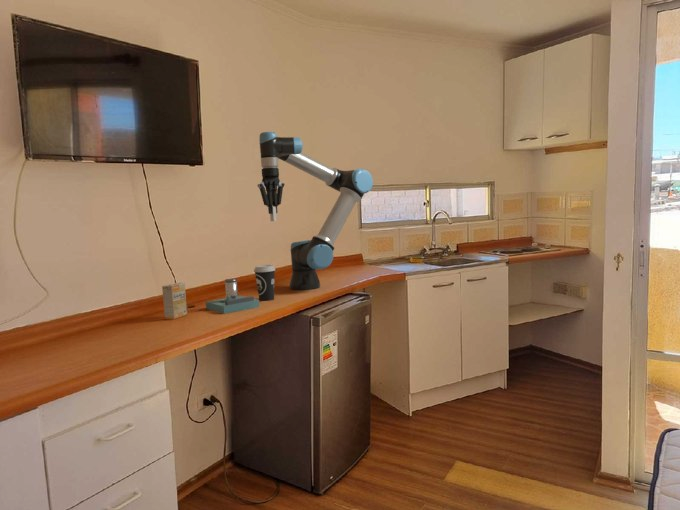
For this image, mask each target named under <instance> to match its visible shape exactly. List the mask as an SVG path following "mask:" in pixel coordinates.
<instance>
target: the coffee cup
mask: <svg viewBox="0 0 680 510" xmlns="http://www.w3.org/2000/svg"><path fill="white" fill-rule="evenodd" d="M275 271H276V267H275V266H274V265H273V264H261V265H256V266H255V267H254V269H253V272H254V274H255V281H256V286H257V287H256V288H257V293H258V300H259V302H260V301H261V302H269V301H273V300H275Z"/></svg>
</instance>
